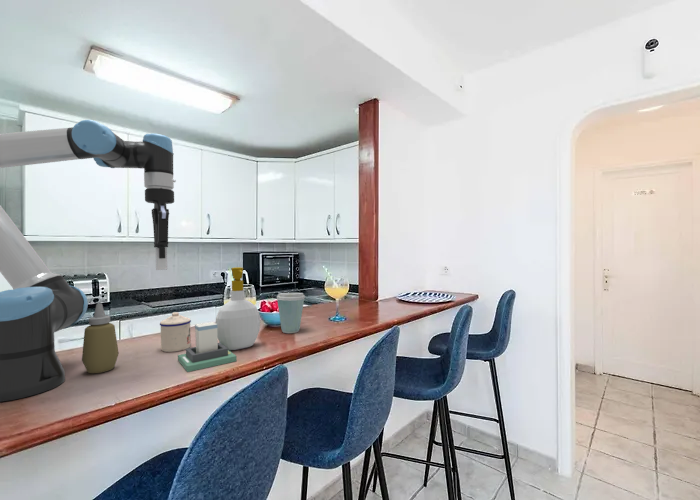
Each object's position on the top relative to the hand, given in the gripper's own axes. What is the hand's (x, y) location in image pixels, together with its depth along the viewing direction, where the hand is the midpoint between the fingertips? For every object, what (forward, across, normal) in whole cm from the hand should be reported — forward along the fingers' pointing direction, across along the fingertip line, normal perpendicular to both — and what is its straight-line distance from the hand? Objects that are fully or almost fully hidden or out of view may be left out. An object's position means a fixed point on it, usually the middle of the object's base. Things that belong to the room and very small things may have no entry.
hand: (161, 269), depth 101 cm
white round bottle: (+27, -4, -21) cm, 34 cm away
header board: (+26, -10, -10) cm, 30 cm away
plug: (+25, -10, -10) cm, 28 cm away
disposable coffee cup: (+27, +4, -44) cm, 52 cm away
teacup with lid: (+27, +11, -5) cm, 29 cm away
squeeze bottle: (+27, +1, +15) cm, 31 cm away
